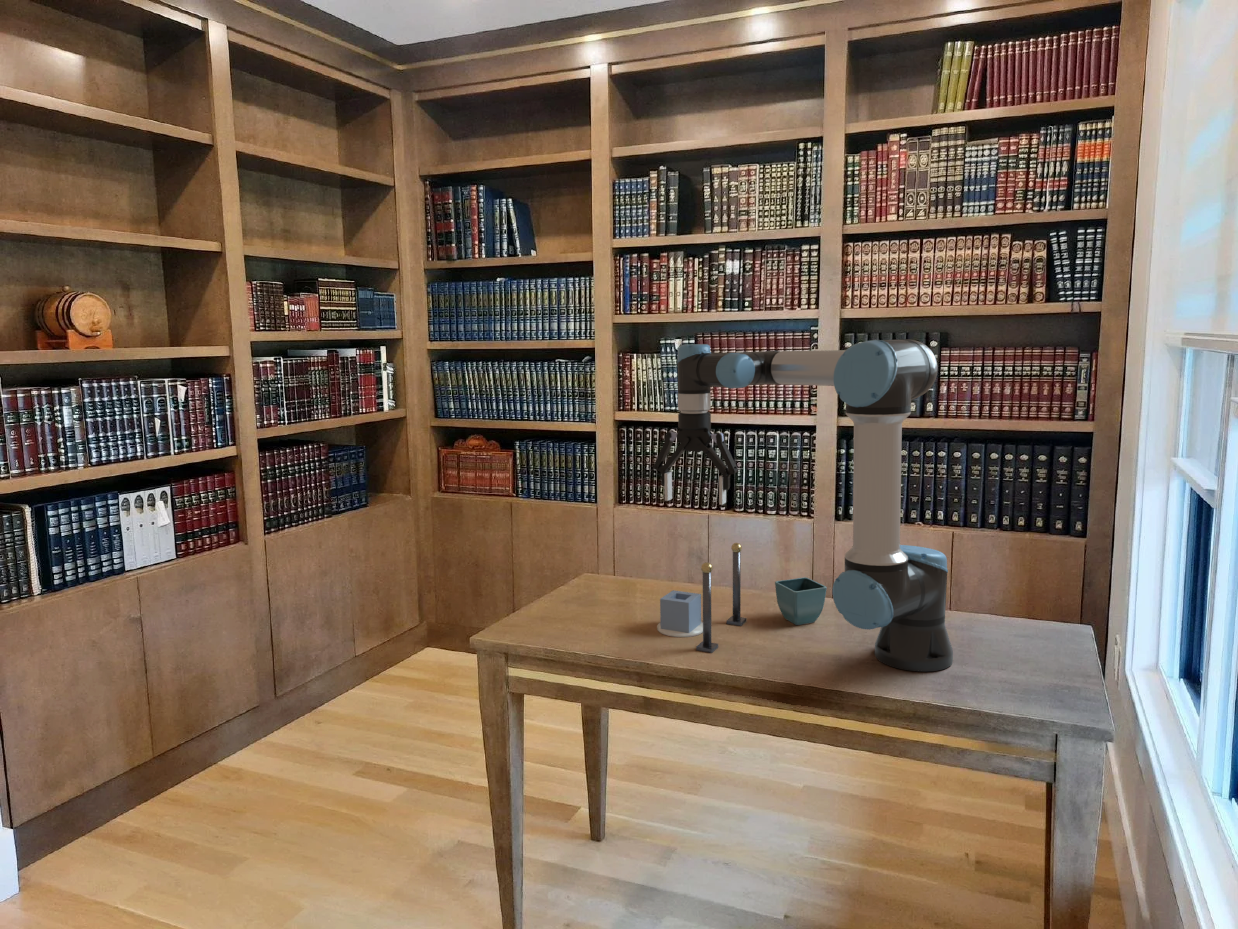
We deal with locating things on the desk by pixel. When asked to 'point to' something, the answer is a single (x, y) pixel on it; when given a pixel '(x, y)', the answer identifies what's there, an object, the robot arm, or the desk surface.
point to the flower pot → (800, 599)
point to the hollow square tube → (680, 611)
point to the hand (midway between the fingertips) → (695, 501)
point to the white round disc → (694, 632)
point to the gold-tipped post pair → (733, 620)
